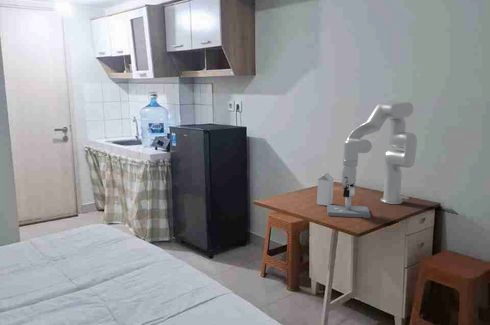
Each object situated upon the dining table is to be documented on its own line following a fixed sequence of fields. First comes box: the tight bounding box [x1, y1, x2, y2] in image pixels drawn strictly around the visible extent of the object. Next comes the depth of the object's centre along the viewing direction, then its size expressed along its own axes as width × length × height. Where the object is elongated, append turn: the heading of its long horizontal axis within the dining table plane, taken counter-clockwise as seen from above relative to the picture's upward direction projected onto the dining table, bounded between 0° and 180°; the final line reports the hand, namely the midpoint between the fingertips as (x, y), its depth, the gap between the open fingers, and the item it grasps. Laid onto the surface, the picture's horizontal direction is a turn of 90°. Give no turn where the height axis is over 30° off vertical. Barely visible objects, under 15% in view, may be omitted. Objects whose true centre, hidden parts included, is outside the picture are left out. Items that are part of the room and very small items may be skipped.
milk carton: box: [316, 171, 334, 207], centre depth 250 cm, size 7×7×19 cm
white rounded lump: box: [346, 185, 356, 197], centre depth 232 cm, size 6×6×5 cm
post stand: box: [326, 196, 372, 219], centre depth 233 cm, size 22×15×10 cm
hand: (348, 195), depth 232 cm, fingers open, 6 cm apart
